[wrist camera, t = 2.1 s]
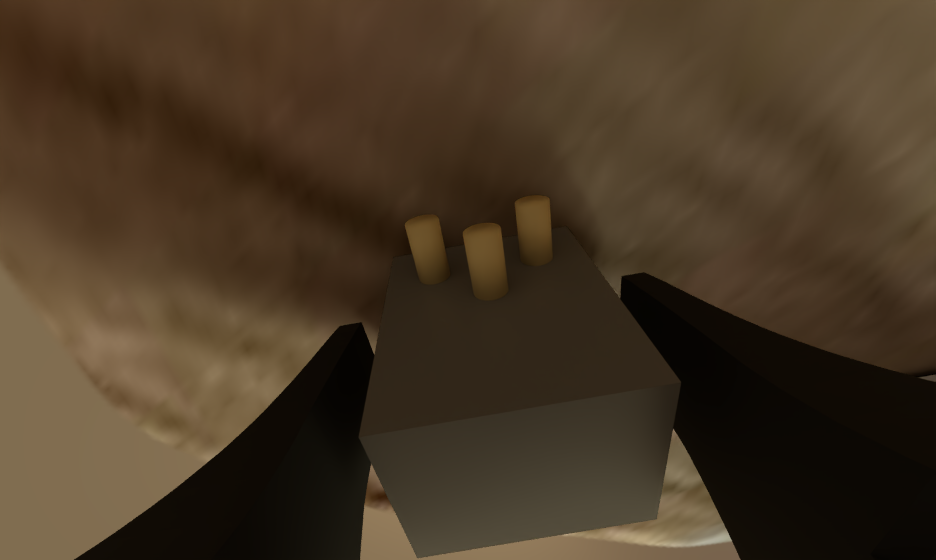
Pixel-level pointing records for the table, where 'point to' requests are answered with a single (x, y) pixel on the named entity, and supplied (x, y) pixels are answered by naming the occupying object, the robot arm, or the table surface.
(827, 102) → the table surface
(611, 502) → the plug
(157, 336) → the table surface
